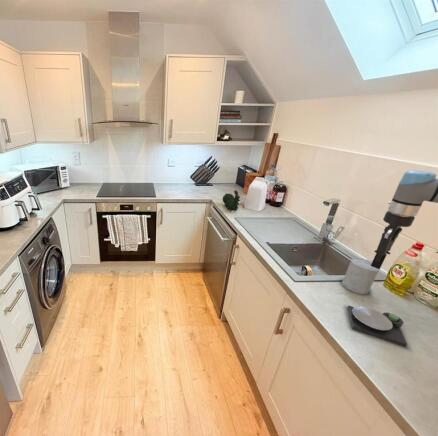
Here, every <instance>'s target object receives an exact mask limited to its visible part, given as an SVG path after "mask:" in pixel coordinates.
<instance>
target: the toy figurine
mask: <svg viewBox="0 0 438 436" xmlns="http://www.w3.org/2000/svg"><path fill="white" fill-rule="evenodd" d="M233 193H234V195H233V194H232V193H225V194H224V195H223V197H222V202H223V204H224V207H225V209H227V211H230V212H232V211H235V212H237V211H238V209H239V206H240V201H241V196H240V195H239V192H238V190H235V189H234V191H233Z"/></svg>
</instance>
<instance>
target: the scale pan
mask: <svg viewBox="0 0 438 436" xmlns="http://www.w3.org/2000/svg"><path fill="white" fill-rule="evenodd" d="M353 307H354V308H353V310H352V312H353V314H354V316H355V317H356V318H357V319H358V320H359V321H361V322H362V323H364V324H366V325H367V326H369V327H372V328H374V329H378V330H383V331H387V330H391V329H392V327H393V325H392V323H391V321H390V320H389V319H388V318H387V317H386V316H384V315H383V313H381V312H380V311H378V310H376V309H373V308H371V307H367V306H363V305H359V306H358V305H357V306H353Z"/></svg>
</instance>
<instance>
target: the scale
mask: <svg viewBox="0 0 438 436" xmlns="http://www.w3.org/2000/svg"><path fill="white" fill-rule="evenodd" d="M354 307H355V306H351V305H347V313H348V315H349V316H348V317H349V321H350V326H351V329H352V330H354V331H357V332H358V333H359V332H360V333H363V334H365V335H368V336H372V337H375V338H378V339H380V340H384V341H386V342H389V343H392V344H395V345H398V346H401V347H403V348H406V347H407V345H408V343H407V341H406V338H405V336H404V334H403V332H402V329H401V328H402V326H403V325H404V321H403V319H402V318H401V317H399V319H398V321H397V322H395V321H392V320H390V319H389V318H388V315H389V314H392V313H391V312H382V314H383V315H384V316H386V317H387V318H388V319H389V320H390V321H391V323H392V325H393V327H392V329H391V330H387V331H383V330H378V329H374V328H372V327H369V326H367V325H366V324H364V323H362V322H361V321H359V320H358V319H357V318H356V317H355V316H354V314H353V312H352V310H353V308H354Z"/></svg>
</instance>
